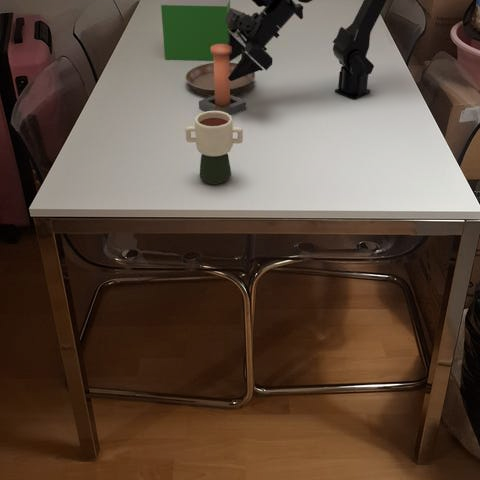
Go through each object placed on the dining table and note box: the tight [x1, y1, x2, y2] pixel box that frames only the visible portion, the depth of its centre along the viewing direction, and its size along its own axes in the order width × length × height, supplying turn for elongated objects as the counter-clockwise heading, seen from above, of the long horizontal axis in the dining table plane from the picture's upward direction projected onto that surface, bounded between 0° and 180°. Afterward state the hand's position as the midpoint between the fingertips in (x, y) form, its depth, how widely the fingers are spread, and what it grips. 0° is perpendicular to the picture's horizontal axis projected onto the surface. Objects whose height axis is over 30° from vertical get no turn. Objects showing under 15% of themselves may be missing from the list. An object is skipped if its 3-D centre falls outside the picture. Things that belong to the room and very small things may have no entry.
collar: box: [198, 94, 247, 116], centre depth 154 cm, size 8×8×2 cm
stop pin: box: [211, 44, 232, 108], centre depth 150 cm, size 5×5×15 cm
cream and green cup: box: [185, 111, 244, 185], centre depth 125 cm, size 11×7×13 cm, turn 86°
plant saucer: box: [185, 61, 256, 97], centre depth 165 cm, size 18×18×3 cm
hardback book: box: [160, 0, 231, 62], centre depth 175 cm, size 18×7×24 cm, turn 85°
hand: (224, 72), depth 149 cm, fingers open, 9 cm apart
